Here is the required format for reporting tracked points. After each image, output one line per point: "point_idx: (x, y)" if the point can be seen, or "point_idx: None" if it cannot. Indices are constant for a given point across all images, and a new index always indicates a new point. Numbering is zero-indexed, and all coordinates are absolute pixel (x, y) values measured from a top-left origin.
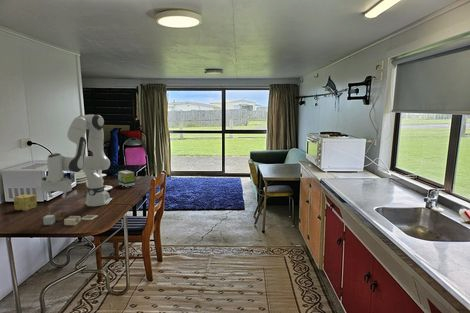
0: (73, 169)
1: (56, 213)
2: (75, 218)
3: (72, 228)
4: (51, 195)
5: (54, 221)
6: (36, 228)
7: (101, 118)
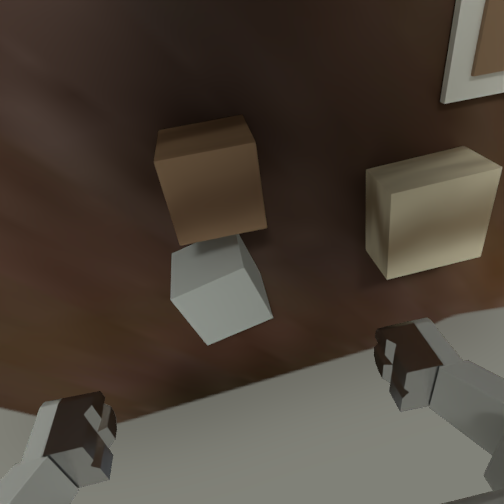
0: None
1: (225, 234)
2: (476, 232)
3: (460, 274)
4: (93, 442)
5: (242, 243)
6: (217, 347)
7: None
